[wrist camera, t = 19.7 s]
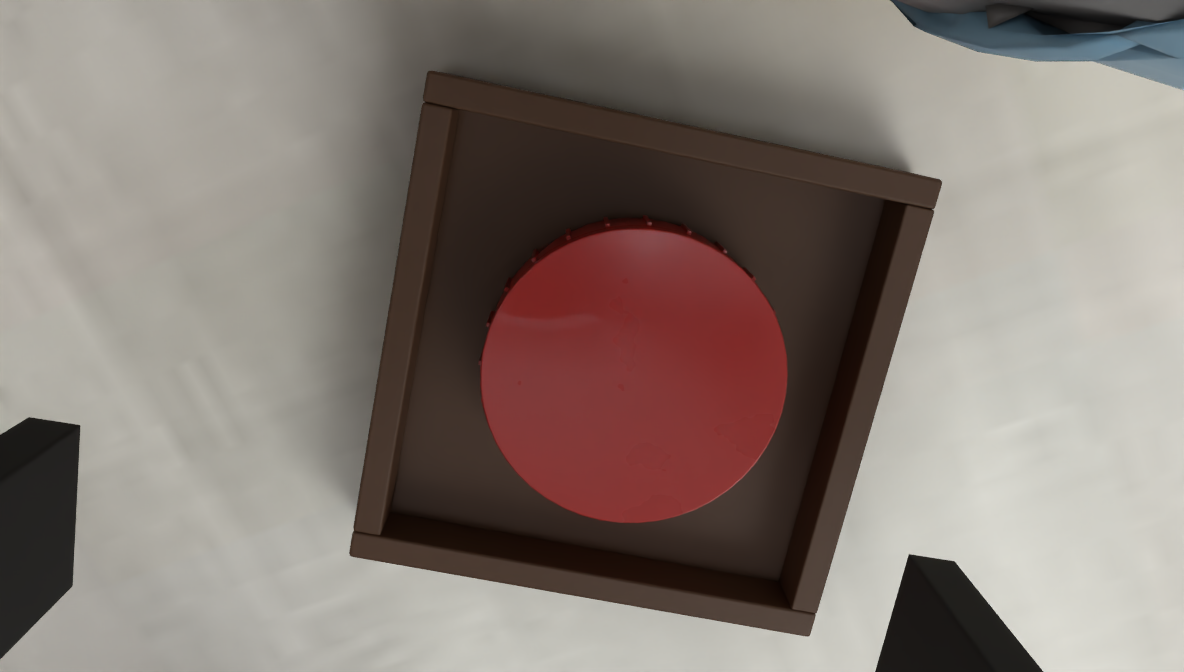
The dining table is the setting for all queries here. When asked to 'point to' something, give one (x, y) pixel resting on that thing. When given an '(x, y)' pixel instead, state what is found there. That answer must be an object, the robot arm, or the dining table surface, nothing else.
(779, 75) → the dining table surface
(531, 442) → the lid
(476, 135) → the tray
